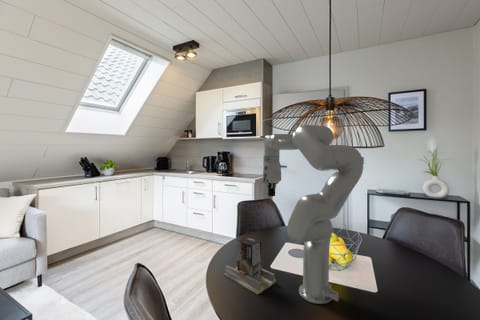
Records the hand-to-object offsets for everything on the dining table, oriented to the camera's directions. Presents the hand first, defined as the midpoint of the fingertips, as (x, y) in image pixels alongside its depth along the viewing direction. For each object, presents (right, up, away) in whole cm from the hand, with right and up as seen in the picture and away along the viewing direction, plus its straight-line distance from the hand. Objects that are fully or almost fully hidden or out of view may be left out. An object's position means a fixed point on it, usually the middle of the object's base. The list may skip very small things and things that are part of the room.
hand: (271, 195), depth 121 cm
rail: (-12, -34, -16) cm, 40 cm away
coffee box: (-12, -33, -16) cm, 39 cm away
